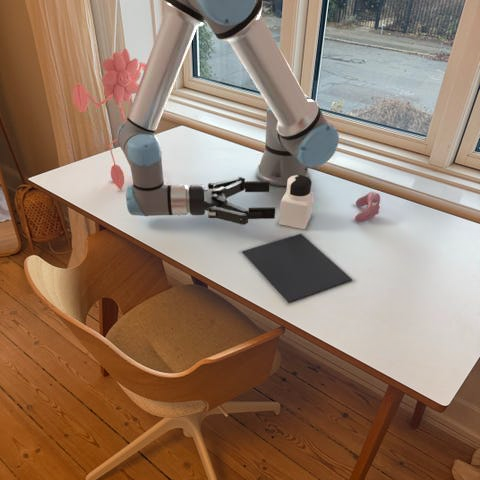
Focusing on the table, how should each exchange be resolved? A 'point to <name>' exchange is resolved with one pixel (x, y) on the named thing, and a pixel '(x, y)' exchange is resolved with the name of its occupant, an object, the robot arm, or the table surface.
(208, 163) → the table surface
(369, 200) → the video game controller
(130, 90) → the figurine
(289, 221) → the medicine bottle
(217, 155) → the table surface
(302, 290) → the mat
